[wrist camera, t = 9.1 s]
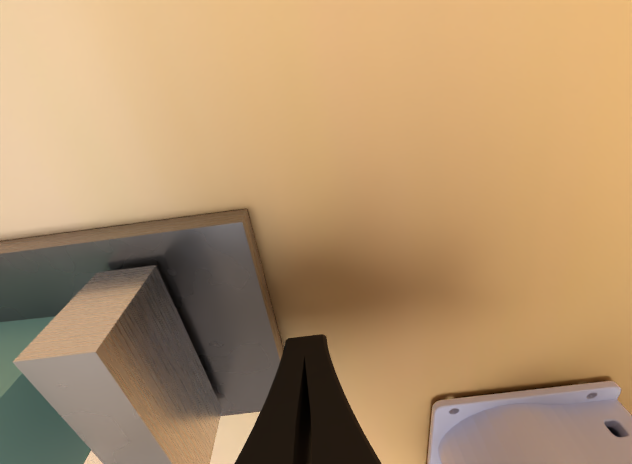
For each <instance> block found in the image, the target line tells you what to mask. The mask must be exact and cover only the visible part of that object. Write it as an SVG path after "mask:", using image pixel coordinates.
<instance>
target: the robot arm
mask: <svg viewBox="0 0 632 464" xmlns="http://www.w3.org/2000/svg"><path fill="white" fill-rule="evenodd" d="M620 393H621V388H620V387H619V386H618V385H617V384H616V383H615V382H613V381H603V382H594V383H585V384H577V385H568V386H559V387H550V388H541V389H533V390H524V391H515V392H506V393H498V394H489V395H480V396H471V397H462V398H454V399H445V400H439V401H437V402H435V403H434V404H433V406H432V415H431V426H430V437H429V448H428V459H427V464H632V415H631V414H630V413H629V412H628V411H627V410H626V409H625V407H624V406H623V405H622V404H621V403H620V402H619V401H618V400H617V398H618V396H619V395H620ZM235 464H381V462H380V460H379V459H378V457H377V455H376V454H375V452H374V450H373V448H372V447H371V445H370V443H369V441H368V440H367V438H366V436H365V434H364V432H363V431H362V429H361V427H360V425H359V423H358V421H357V419H356V417H355V415H354V413H353V411H352V409H351V407H350V405H349V403H348V401H347V398H346V396H345V394H344V392H343V389H342V387H341V385H340V382H339V380H338V377H337V375H336V372H335V370H334V367H333V364H332V361H331V358H330V354H329V350H328V346H327V339H326V336H325V335H323V334H322V335H313V336H305V337H297V338H288V339H287V340H286V342H285V347H284V350H283V354H282V357H281V361H280V364H279V367H278V369H277V372H276V375H275V378H274V380H273V383H272V386H271V388H270V391H269V393H268V396H267V398H266V401H265V403H264V405H263V407H262V410H261V412H260V414H259V416H258V418H257V421H256V423H255V425H254V427H253V429H252V431H251V433H250V435H249V437H248V439H247V441H246V443H245V445H244V447H243V449H242V451H241V453H240V454H239V456H238V458H237V460H236V462H235Z"/></svg>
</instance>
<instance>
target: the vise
mask: <svg viewBox="0 0 632 464" xmlns="http://www.w3.org/2000/svg"><path fill="white" fill-rule="evenodd" d="M152 265H156V266H157V268H158V270H159V272H160V274H161V277H162V279H163V281H164V283H165V285H166V287H167V290H168V292H169V294H170V296H171V298H172V301H173V303H174V305H175V307H176V309H177V312H178V314H179V316H180V318H181V320H182V322H183V325H184V327H185V329H186V331H187V333H188V336H189V338H190V340H191V342H192V344H193V347H194V349H195V351H196V353H197V355H198V357H199V360H200V362H201V364H202V366H203V368H204V371H205V373H206V375H207V377H208V379H209V382H210V384H211V386H212V388H213V390H214V392H215V395H216V397H217V399H218V401H219V403H220V406H221V408H222V411H221V415H220V416H225V415H234V414H243V413H251V412H260V411H261V410H262V407H263V405H264V403H265V401H266V398H267V396H268V393H269V391H270V388H271V386H272V383H273V380H274V378H275V375H276V372H277V369H278V367H279V364H280V361H281V357H282V354H283V346H282V343H281V339H280V335H279V331H278V327H277V323H276V319H275V315H274V311H273V308H272V304H271V300H270V296H269V292H268V288H267V284H266V280H265V277H264V273H263V269H262V265H261V261H260V257H259V253H258V249H257V246H256V242H255V238H254V234H253V230H252V226H251V222H250V218H249V214H248V211H247V209H241V210H234V211H226V212H219V213H211V214H204V215H196V216H189V217H181V218H174V219H166V220H158V221H151V222H143V223H136V224H128V225H121V226H113V227H106V228H98V229H91V230H83V231H75V232H68V233H60V234H53V235H45V236H38V237H30V238H23V239H15V240H8V241H0V322H6V321H16V320H25V319H35V318H44V317H54V316H56V315H57V314H58V313H59V312H60V311H61V310H62V309H63V308H64V307H65V306H66V305H67V304H68V303H69V302H70V301H71V300H72V299H73V297H74V296H75V295H76V294H77V293H78V292H79V291H80V290H81V289H82V288H83V287H84V286H85V285H86V284H87V283H88V282H89V281H90V280H91V278H92V277H93V276H94V275H95V274H96V273H98V272H105V271H113V270H121V269H129V268H136V267H144V266H152Z"/></svg>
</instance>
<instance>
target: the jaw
mask: <svg viewBox="0 0 632 464" xmlns="http://www.w3.org/2000/svg"><path fill="white" fill-rule="evenodd" d="M13 363H14V364H15V365H16V367H17V368H18V369H19V370H20V371H21V372H22V373H23V374H24V376H25V377H26V378H27V379H28V380H29V381H30V382H31V383H32V384H33V386H34V387H35V388H36V389H37V390H38V391H39V392H40V393H41V395H42V396H43V397H44V398H45V399H46V400H47V401H48V402H49V403H50V405H51V406H52V407H53V408H54V409H55V410H56V411H57V412H58V414H59V415H60V416H61V417H62V418H63V419H64V420H65V421H66V422H67V424H68V425H69V426H70V427H71V428H72V429H73V430H74V431H75V433H76V434H77V435H78V436H79V437H80V438H81V439H82V440H83V441H84V443H85V444H86V445H87V446H88V447H89V448H90V449H91V450H92V452H93V453H94V454H95V455H96V456H97V457H98V458H99V459H100V460H101V462H102V463H103V464H210V459H211V455H212V451H213V446H214V442H215V437H216V433H217V428H218V424H219V420H220V415H221V411H222V408H221V406H220V403H219V401H218V399H217V397H216V395H215V392H214V390H213V388H212V386H211V384H210V382H209V379H208V377H207V375H206V373H205V371H204V368H203V366H202V364H201V362H200V360H199V357H198V355H197V353H196V351H195V349H194V347H193V344H192V342H191V340H190V338H189V336H188V333H187V331H186V329H185V327H184V325H183V322H182V320H181V318H180V316H179V314H178V312H177V309H176V307H175V305H174V303H173V301H172V298H171V296H170V294H169V292H168V290H167V287H166V285H165V283H164V281H163V279H162V277H161V274H160V272H159V270H158V268H157V266H156V265H152V266H144V267H136V268H129V269H121V270H113V271H105V272H98V273H96V274H95V275H94V276H93V277H92V278H91V280H90V281H89V282H88V283H87V284H86V285H85V286H84V287H83V288H82V289H81V290H80V291H79V292H78V293H77V294H76V295H75V296H74V297H73V299H72V300H71V301H70V302H69V303H68V304H67V305H66V306H65V307H64V308H63V309H62V310H61V311H60V312H59V313H58V314H57V315H56V317H55V318H54V319H53V320H52V321H51V322H50V323H49V324H48V325H47V326H46V327H45V328H44V329H43V330H42V331H41V332H40V333H39V334H38V336H37V337H36V338H35V339H34V340H33V341H32V342H31V343H30V344H29V345H28V346H27V347H26V348H25V349H24V350H23V351H22V352H21V353H20V355H19V356H18V357H17V358H16V359H15V360H14V361H13Z"/></svg>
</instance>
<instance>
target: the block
mask: <svg viewBox="0 0 632 464" xmlns="http://www.w3.org/2000/svg"><path fill="white" fill-rule="evenodd" d="M55 317H56V316H54V317H44V318H35V319H25V320H16V321H6V322H0V464H84V462H85V460H86V458H87V456H88V455H89V453H90V451H91V449H90V448H89V447H88V446H87V445H86V444H85V443H84V441H83V440H82V439H81V438H80V437H79V436H78V435H77V434H76V433H75V431H74V430H73V429H72V428H71V427H70V426H69V425H68V424H67V422H66V421H65V420H64V419H63V418H62V417H61V416H60V415H59V414H58V412H57V411H56V410H55V409H54V408H53V407H52V406H51V405H50V403H49V402H48V401H47V400H46V399H45V398H44V397H43V396H42V395H41V393H40V392H39V391H38V390H37V389H36V388H35V387H34V386H33V384H32V383H31V382H30V381H29V380H28V379H27V378H26V377H25V376H24V374H23V373H22V372H21V371H20V370H19V369H18V368H17V367H16V365H15V364H14V363H13V361H14V360H15V359H16V358H17V357H18V356H19V355H20V353H21V352H22V351H23V350H24V349H25V348H26V347H27V346H28V345H29V344H30V343H31V342H32V341H33V340H34V339H35V338H36V337H37V336H38V334H39V333H40V332H41V331H42V330H43V329H44V328H45V327H46V326H47V325H48V324H49V323H50V322H51V321H52V320H53V319H54V318H55Z"/></svg>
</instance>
